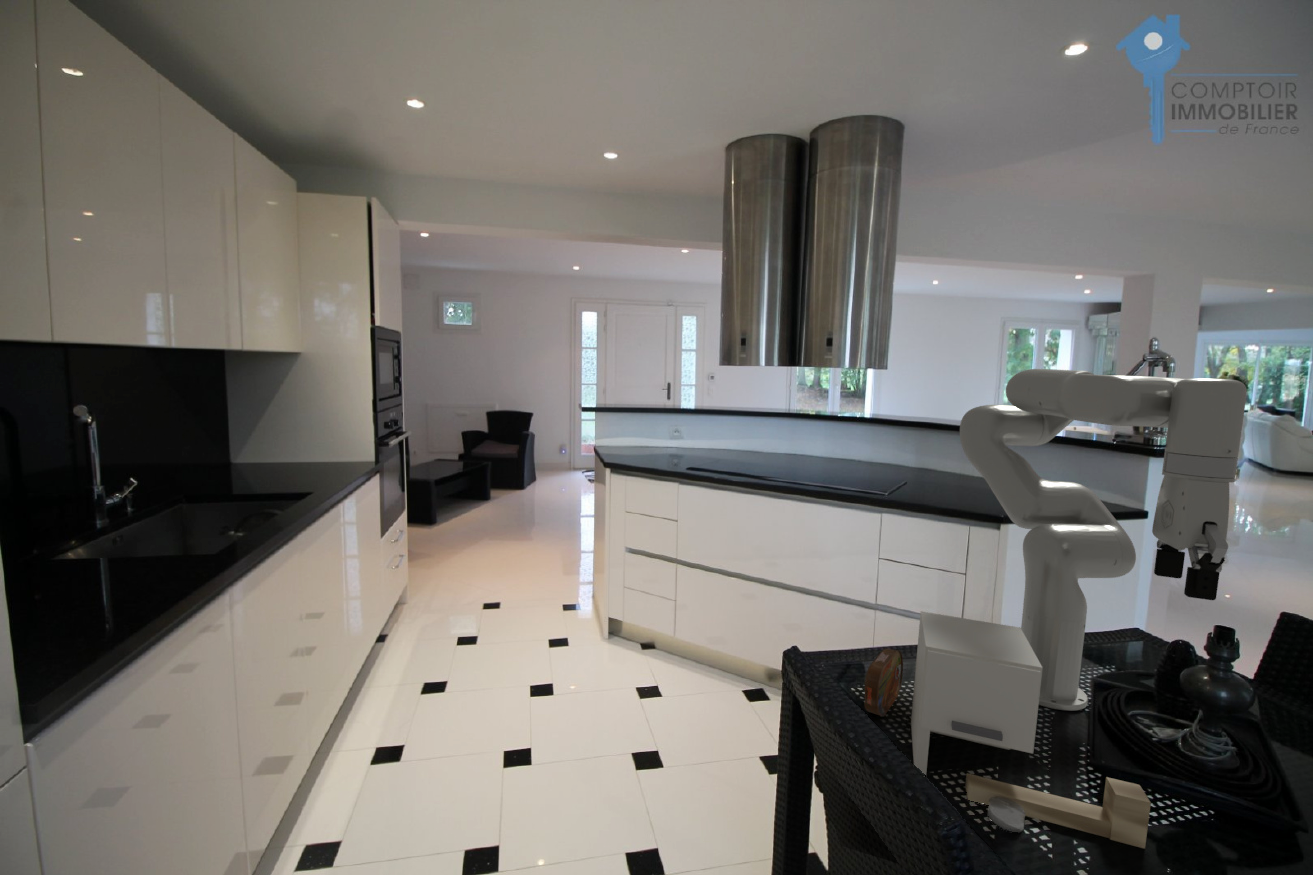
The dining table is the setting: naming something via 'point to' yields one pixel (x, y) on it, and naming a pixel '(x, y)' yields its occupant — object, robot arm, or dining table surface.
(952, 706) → the cabinet
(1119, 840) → the wooden l-shaped bar
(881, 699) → the tin
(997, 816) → the puck
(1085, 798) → the dining table surface
